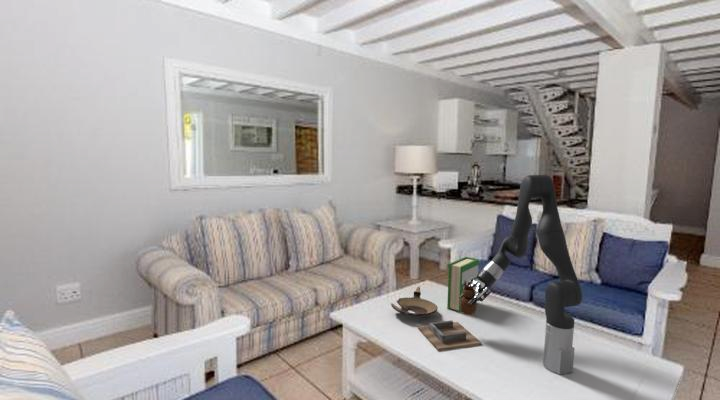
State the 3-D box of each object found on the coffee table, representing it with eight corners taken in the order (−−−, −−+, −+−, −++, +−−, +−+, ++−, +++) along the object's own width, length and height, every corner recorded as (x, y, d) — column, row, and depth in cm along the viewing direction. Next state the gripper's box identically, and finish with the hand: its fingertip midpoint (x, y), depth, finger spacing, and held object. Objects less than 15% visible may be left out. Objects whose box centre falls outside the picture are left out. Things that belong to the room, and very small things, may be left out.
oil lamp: (382, 316, 187) (382, 301, 186) (410, 297, 212) (411, 284, 211) (424, 329, 175) (424, 313, 174) (449, 307, 199) (450, 293, 198)
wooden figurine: (458, 314, 169) (459, 281, 167) (461, 309, 174) (463, 277, 172) (474, 317, 165) (475, 284, 163) (477, 312, 171) (478, 279, 168)
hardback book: (460, 313, 192) (462, 266, 189) (447, 309, 197) (449, 263, 194) (476, 303, 205) (478, 259, 202) (463, 299, 210) (465, 256, 207)
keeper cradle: (481, 344, 161) (481, 335, 161) (437, 350, 156) (438, 341, 156) (457, 323, 180) (457, 315, 180) (417, 328, 175) (418, 320, 175)
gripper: (476, 263, 176) (451, 291, 174) (494, 273, 162) (468, 303, 160) (485, 274, 178) (461, 301, 176) (505, 284, 164) (479, 314, 163)
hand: (465, 302), depth 168 cm, fingers closed on wooden figurine, 6 cm apart
